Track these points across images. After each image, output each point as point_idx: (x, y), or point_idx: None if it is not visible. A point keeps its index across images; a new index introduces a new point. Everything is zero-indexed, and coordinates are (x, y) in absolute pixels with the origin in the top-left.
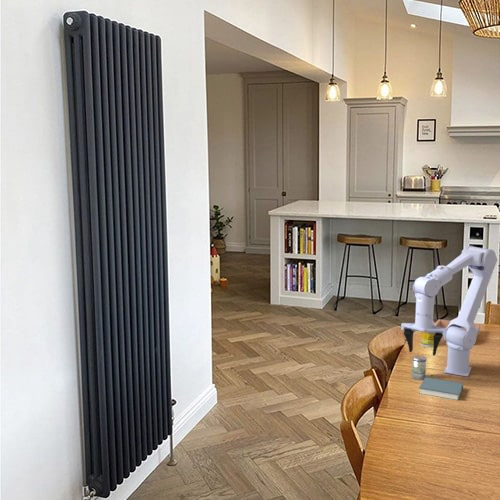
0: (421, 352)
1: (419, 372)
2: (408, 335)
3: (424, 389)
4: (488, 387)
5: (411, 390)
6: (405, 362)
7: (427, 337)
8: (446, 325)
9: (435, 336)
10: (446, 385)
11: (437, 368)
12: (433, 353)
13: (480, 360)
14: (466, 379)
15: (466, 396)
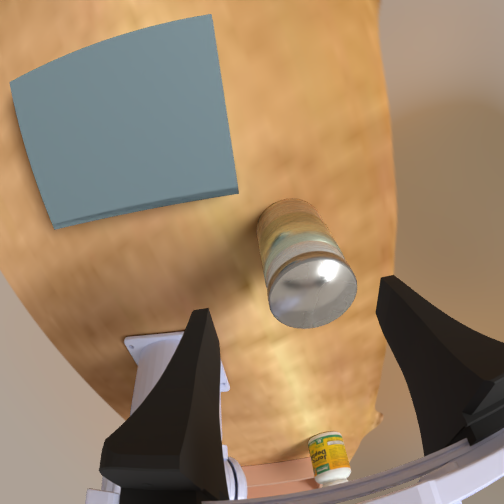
0: (331, 409)
1: (284, 220)
2: (491, 363)
3: (179, 24)
4: (28, 287)
5: (264, 38)
6: (369, 335)
7: (328, 454)
8: (303, 486)
9: (153, 469)
10: (91, 144)
11: (250, 351)
12: (201, 317)
13: None
14: (115, 315)
15: (23, 149)
